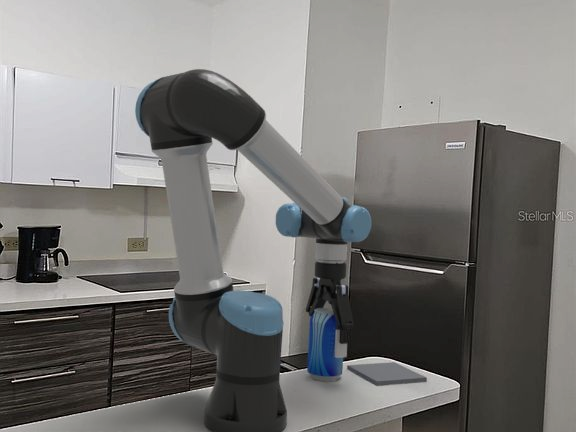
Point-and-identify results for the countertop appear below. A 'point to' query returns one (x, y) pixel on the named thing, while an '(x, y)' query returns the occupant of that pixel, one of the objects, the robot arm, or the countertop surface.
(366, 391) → the countertop surface
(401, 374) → the mat
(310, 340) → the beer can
